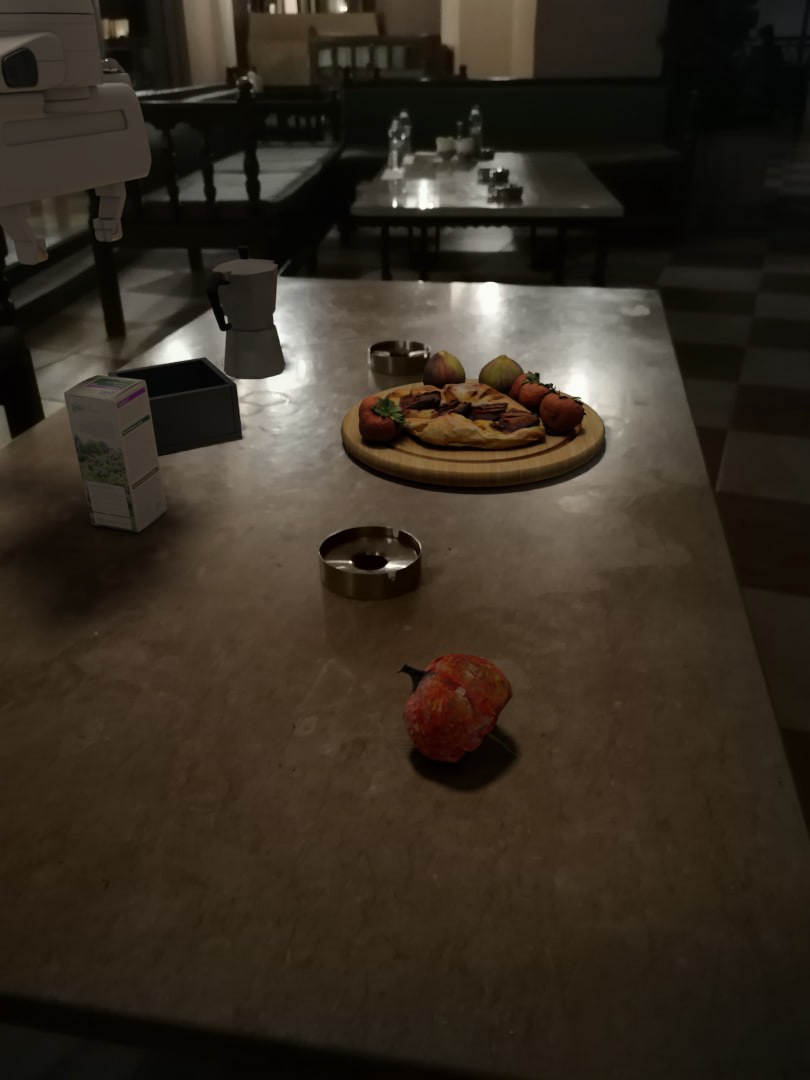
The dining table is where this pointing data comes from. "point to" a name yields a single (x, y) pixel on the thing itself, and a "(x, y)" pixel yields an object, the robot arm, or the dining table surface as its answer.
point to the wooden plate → (473, 427)
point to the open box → (189, 404)
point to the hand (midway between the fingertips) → (73, 250)
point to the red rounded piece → (454, 705)
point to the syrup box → (116, 451)
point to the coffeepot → (247, 315)
